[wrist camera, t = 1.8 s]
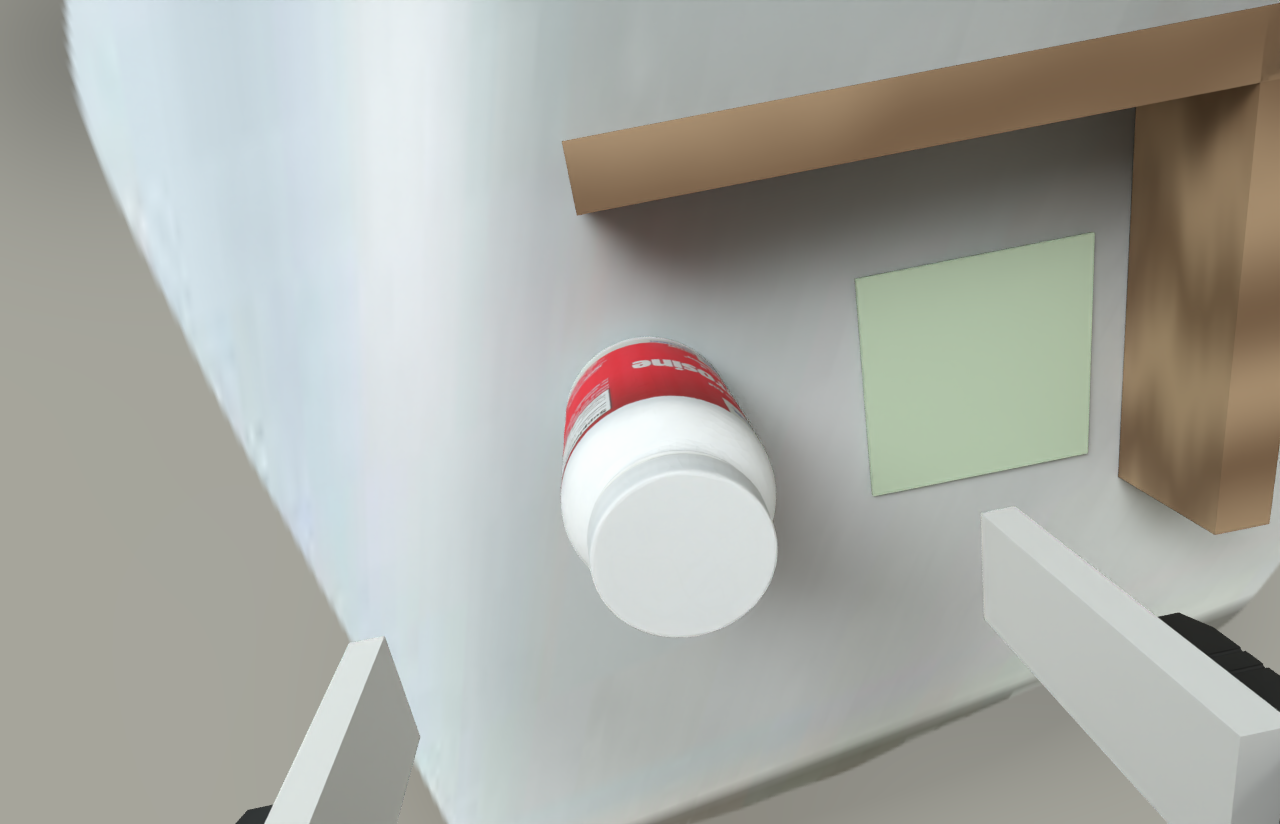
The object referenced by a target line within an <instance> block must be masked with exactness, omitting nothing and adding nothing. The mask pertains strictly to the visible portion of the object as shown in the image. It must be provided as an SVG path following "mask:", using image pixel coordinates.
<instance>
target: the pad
mask: <svg viewBox="0 0 1280 824" xmlns="http://www.w3.org/2000/svg"><path fill="white" fill-rule="evenodd" d="M1094 241H1095V233H1093V232H1090V233H1085V234H1080V235H1074V236H1069V237H1064V238H1059V239H1054V240H1049V241H1044V242H1039V243H1034V244H1029V245H1024V246H1019V247H1013V248H1008V249H1003V250H998V251H993V252H988V253H983V254H978V255H973V256H968V257H963V258H958V259H952V260H947V261H942V262H937V263H932V264H927V265H922V266H917V267H912V268H907V269H902V270H897V271H891V272H886V273H881V274H876V275H871V276H866V277H861V278H856V279H855V290H856V302H857V315H858V327H859V340H860V352H861V364H862V377H863V389H864V402H865V414H866V427H867V439H868V452H869V464H870V477H871V489H872V495H873V496H878V495H883V494H888V493H893V492H898V491H903V490H908V489H913V488H918V487H923V486H928V485H933V484H938V483H943V482H948V481H953V480H958V479H963V478H968V477H973V476H978V475H983V474H988V473H993V472H998V471H1003V470H1008V469H1012V468H1017V467H1022V466H1027V465H1032V464H1037V463H1042V462H1047V461H1052V460H1057V459H1062V458H1067V457H1072V456H1077V455H1082V454H1087V453H1088V431H1089V400H1090V368H1091V336H1092V304H1093V273H1094Z"/></svg>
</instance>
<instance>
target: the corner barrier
mask: <svg viewBox="0 0 1280 824" xmlns="http://www.w3.org/2000/svg"><path fill="white" fill-rule="evenodd" d="M1132 107H1136V118H1135V139H1134V160H1133V181H1132V202H1131V223H1130V244H1129V265H1128V286H1127V307H1126V328H1125V349H1124V369H1123V390H1122V411H1121V432H1120V453H1119V474H1118V477H1120V478H1121V479H1123V480H1125V481H1126V482H1128V483H1130V484H1131V485H1133V486H1135V487H1136V488H1138V489H1140V490H1141V491H1143V492H1145V493H1146V494H1148V495H1149V496H1151V497H1153V498H1154V499H1156V500H1158V501H1159V502H1161V503H1163V504H1164V505H1166V506H1168V507H1169V508H1171V509H1173V510H1174V511H1176V512H1178V513H1179V514H1181V515H1183V516H1184V517H1186V518H1188V519H1189V520H1191V521H1193V522H1194V523H1196V524H1198V525H1199V526H1201V527H1203V528H1204V529H1206V530H1208V531H1209V532H1211V533H1213V534H1214V535H1217V534H1222V533H1227V532H1232V531H1236V530H1241V529H1246V528H1251V527H1256V526H1261V525H1266V524H1269V522H1270V514H1271V506H1272V499H1273V491H1274V483H1275V475H1276V468H1277V460H1278V452H1279V444H1280V3H1278V4H1272V5H1267V6H1262V7H1257V8H1252V9H1246V10H1241V11H1236V12H1231V13H1226V14H1220V15H1215V16H1210V17H1205V18H1200V19H1195V20H1189V21H1184V22H1179V23H1174V24H1169V25H1163V26H1158V27H1153V28H1148V29H1143V30H1137V31H1132V32H1127V33H1122V34H1117V35H1111V36H1106V37H1101V38H1096V39H1091V40H1086V41H1080V42H1075V43H1070V44H1065V45H1060V46H1054V47H1049V48H1044V49H1039V50H1034V51H1028V52H1023V53H1018V54H1013V55H1008V56H1003V57H997V58H992V59H987V60H982V61H977V62H971V63H966V64H961V65H956V66H951V67H945V68H940V69H935V70H930V71H925V72H919V73H914V74H909V75H904V76H899V77H894V78H888V79H883V80H878V81H873V82H868V83H862V84H857V85H852V86H847V87H842V88H836V89H831V90H826V91H821V92H816V93H810V94H805V95H800V96H795V97H790V98H785V99H779V100H774V101H769V102H764V103H759V104H753V105H748V106H743V107H738V108H733V109H727V110H722V111H717V112H712V113H707V114H702V115H696V116H691V117H686V118H681V119H676V120H670V121H665V122H660V123H655V124H650V125H644V126H639V127H634V128H629V129H624V130H618V131H613V132H608V133H603V134H598V135H593V136H587V137H582V138H577V139H572V140H567V141H562V145H563V150H564V154H565V159H566V164H567V169H568V174H569V179H570V184H571V189H572V194H573V198H574V203H575V208H576V213H577V215H582V214H587V213H592V212H597V211H602V210H607V209H613V208H618V207H623V206H628V205H633V204H638V203H643V202H649V201H654V200H659V199H664V198H669V197H674V196H679V195H685V194H690V193H695V192H700V191H705V190H710V189H715V188H721V187H726V186H731V185H736V184H741V183H746V182H751V181H757V180H762V179H767V178H772V177H777V176H782V175H788V174H793V173H798V172H803V171H808V170H813V169H818V168H824V167H829V166H834V165H839V164H844V163H849V162H854V161H860V160H865V159H870V158H875V157H880V156H885V155H890V154H896V153H901V152H906V151H911V150H916V149H921V148H926V147H932V146H937V145H942V144H947V143H952V142H957V141H962V140H968V139H973V138H978V137H983V136H988V135H993V134H999V133H1004V132H1009V131H1014V130H1019V129H1024V128H1029V127H1035V126H1040V125H1045V124H1050V123H1055V122H1060V121H1065V120H1071V119H1076V118H1081V117H1086V116H1091V115H1096V114H1101V113H1107V112H1112V111H1117V110H1122V109H1127V108H1132Z"/></svg>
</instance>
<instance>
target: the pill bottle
mask: <svg viewBox="0 0 1280 824" xmlns="http://www.w3.org/2000/svg"><path fill="white" fill-rule="evenodd" d="M775 507H776V484H775V478H774V473H773V469H772V466H771V463H770V461H769V458H768V456H767V454H766V452H765V449H764V447H763V446H762V444H761V442H760V440H759V439H758V437H757V436H756V434H755V432H754V431H753V429H752V427H751V426H750V424H749V423H748V421H747V419H746V418H745V416H744V414H743V413H742V411H741V410H740V408H739V406H738V405H737V403H736V401H735V400H734V398H733V396H732V395H731V394H730V392H729V390H728V389H727V387H726V386H725V384H724V383H723V381H722V379H721V378H720V376H719V375H718V373H717V372H716V370H715V369H714V368H713V367H712V365H711V364H710V363H709V362H708V361H707V360H706V359H704V358H703V357H702V356H701V355H700V354H698V353H697V352H696V351H694V350H693V349H691V348H689V347H687V346H686V345H684V344H681V343H679V342H676V341H673V340H670V339H666V338H659V337H637V338H631V339H627V340H624V341H621V342H618V343H616V344H613V345H611V346H609V347H607V348H606V349H604V350H603V351H601V352H600V353H598V354H597V355H596V356H594V357H593V358H592V359H591V360H590V361H589V362H588V363H587V364H586V365H585V366H584V368H583V369H582V370H581V372H580V373H579V374H578V376H577V378H576V380H575V382H574V384H573V386H572V388H571V391H570V394H569V397H568V402H567V407H566V416H565V432H564V450H563V468H562V482H561V511H562V518H563V523H564V526H565V530H566V533H567V535H568V538H569V540H570V542H571V544H572V546H573V548H574V550H575V551H576V553H577V554H578V556H579V557H580V558H581V560H582V561H583V562H584V563H585V564H586V566H587V567H588V568H589V569H590V570H591V575H592V579H593V582H594V585H595V587H596V590H597V592H598V594H599V595H600V597H601V599H602V600H603V602H604V603H605V604H606V605H607V607H608V608H609V609H610V610H611V612H613V613H614V614H615V615H616V616H617V617H618V618H619V619H621V620H622V621H623V622H625V623H627V624H628V625H630V626H632V627H634V628H636V629H638V630H640V631H643V632H646V633H649V634H653V635H656V636H664V637H678V638H683V637H694V636H700V635H704V634H708V633H711V632H714V631H717V630H720V629H722V628H724V627H726V626H728V625H730V624H732V623H734V622H735V621H737V620H738V619H740V618H741V617H743V616H744V615H745V614H746V613H747V612H748V611H750V610H751V609H752V608H753V607H754V606H755V605H756V604H757V602H758V601H759V600H760V599H761V597H762V596H763V595H764V593H765V591H766V590H767V588H768V586H769V584H770V582H771V580H772V578H773V574H774V571H775V568H776V563H777V554H778V542H777V535H776V530H775V527H774V524H773V518H774V514H775Z"/></svg>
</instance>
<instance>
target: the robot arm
mask: <svg viewBox="0 0 1280 824" xmlns="http://www.w3.org/2000/svg"><path fill="white" fill-rule="evenodd" d="M981 542H982V574H983V605H984V620H985V621H986V622H987V623H988V624H989V625H990V626H991V627H992V629H993V630H994V631H995V632H996V633H997V634H998V635H999V636H1000V637H1001V639H1002V640H1003V641H1004V642H1005V643H1006V644H1007V645H1008V646H1009V647H1010V649H1011V650H1012V651H1013V652H1014V653H1015V654H1016V655H1017V656H1018V657H1019V659H1020V660H1021V661H1022V662H1023V663H1024V664H1025V665H1026V666H1027V667H1028V669H1029V670H1030V671H1031V672H1032V673H1033V674H1034V675H1035V676H1036V677H1037V679H1038V680H1039V681H1040V682H1041V683H1042V684H1043V685H1044V686H1045V687H1046V689H1047V690H1048V691H1049V692H1050V693H1051V694H1052V695H1053V696H1054V697H1055V698H1056V700H1057V701H1058V702H1059V703H1060V704H1061V705H1062V706H1063V707H1064V709H1065V710H1066V711H1067V712H1068V713H1069V714H1070V715H1071V716H1072V717H1073V718H1074V720H1075V721H1076V722H1077V723H1078V724H1079V725H1080V726H1081V727H1082V729H1083V730H1084V731H1085V732H1086V733H1087V734H1088V735H1089V736H1090V737H1091V739H1092V740H1093V741H1094V742H1095V743H1096V744H1097V745H1098V746H1099V748H1100V749H1101V750H1102V751H1103V752H1104V753H1105V754H1106V755H1107V756H1108V757H1109V759H1110V760H1111V761H1112V762H1113V763H1114V764H1115V765H1116V766H1117V767H1118V769H1119V770H1120V771H1121V772H1122V773H1123V774H1124V775H1125V776H1126V778H1128V780H1129V781H1130V782H1131V783H1132V784H1133V785H1134V786H1135V788H1136V789H1137V790H1138V791H1139V792H1140V793H1141V794H1142V795H1143V796H1144V798H1145V799H1146V800H1147V801H1148V802H1149V803H1150V804H1151V805H1152V806H1153V808H1155V810H1156V811H1157V812H1158V813H1159V814H1160V815H1161V816H1162V817H1163V819H1164V820H1165V821H1166V822H1167V823H1168V824H1280V675H1278V674H1277V673H1275V672H1274V671H1273V670H1271V669H1270V668H1265V667H1264V666H1263V663H1261V662H1260V661H1259V660H1257V659H1256V658H1255V657H1253V656H1252V655H1251V654H1249V653H1247V652H1246V651H1244V652H1243V651H1242V650H1241V648H1240V647H1239V646H1238V645H1237V644H1235V643H1234V642H1233V641H1231V640H1230V639H1229V638H1227V637H1226V636H1224V635H1223V634H1222V633H1220V632H1219V631H1218V630H1216V629H1215V628H1213V627H1211V626H1209V625H1206V624H1204V623H1202V622H1199V621H1197V620H1195V619H1192V618H1190V617H1188V616H1185V615H1183V614H1181V613H1174V614H1169V615H1165V616H1160V617H1157V616H1155V615H1154V614H1153V613H1152V612H1150V611H1149V610H1148V609H1146V608H1145V607H1144V606H1143V605H1141V604H1140V603H1139V602H1137V601H1136V600H1135V599H1134V598H1132V597H1131V596H1130V595H1128V594H1127V593H1126V592H1125V591H1123V590H1122V589H1121V588H1119V587H1118V586H1117V585H1116V584H1114V583H1113V582H1112V581H1110V580H1109V579H1108V578H1107V577H1105V576H1104V575H1103V574H1101V573H1100V572H1099V571H1098V570H1096V569H1095V568H1094V567H1092V566H1091V565H1090V564H1089V563H1087V562H1086V561H1085V560H1083V559H1082V558H1081V557H1080V556H1078V555H1077V554H1076V553H1074V552H1073V551H1072V550H1071V549H1069V548H1068V547H1067V546H1065V545H1064V544H1063V543H1062V542H1060V541H1059V540H1058V539H1056V538H1055V537H1054V536H1053V535H1051V534H1050V533H1049V532H1047V531H1046V530H1045V529H1044V528H1042V527H1041V526H1040V525H1038V524H1037V523H1036V522H1035V521H1033V520H1032V519H1031V518H1029V517H1028V516H1027V515H1026V514H1024V513H1023V512H1022V511H1020V510H1019V509H1018V508H1017V507H1015V506H1012V507H1008V508H1003V509H998V510H993V511H988V512H983V513H981ZM419 740H420V735H419V732H418V729H417V726H416V723H415V721H414V718H413V715H412V712H411V709H410V706H409V704H408V701H407V698H406V695H405V692H404V689H403V687H402V684H401V681H400V678H399V675H398V672H397V670H396V667H395V664H394V661H393V658H392V655H391V653H390V650H389V647H388V644H387V641H386V638H385V636H381V637H376V638H371V639H366V640H362V641H357V642H352V643H349V644H348V646H347V649H346V651H345V653H344V655H343V657H342V659H341V661H340V664H339V666H338V668H337V670H336V672H335V674H334V676H333V678H332V681H331V683H330V685H329V687H328V689H327V691H326V693H325V696H324V698H323V700H322V702H321V704H320V706H319V708H318V710H317V713H316V715H315V717H314V719H313V721H312V723H311V725H310V728H309V730H308V732H307V734H306V736H305V738H304V740H303V743H302V745H301V747H300V749H299V751H298V753H297V755H296V758H295V759H294V762H293V764H292V766H291V768H290V770H289V772H288V775H287V777H286V779H285V781H284V783H283V785H282V787H281V789H280V791H279V794H278V796H277V798H276V800H275V802H274V804H273V805H270V806H265V807H260V808H255V809H250V810H247V811H246V813H245V814H244V815H243V816H242V817H241V818H240V819H239V821H238V822H237V823H236V824H397V822H398V817H399V814H400V810H401V807H402V803H403V799H404V796H405V792H406V788H407V784H408V780H409V777H410V773H411V769H412V766H413V762H414V758H415V755H416V751H417V747H418V743H419Z"/></svg>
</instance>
